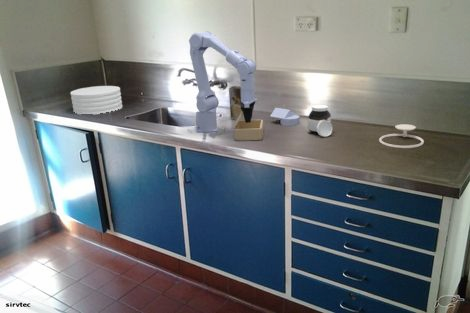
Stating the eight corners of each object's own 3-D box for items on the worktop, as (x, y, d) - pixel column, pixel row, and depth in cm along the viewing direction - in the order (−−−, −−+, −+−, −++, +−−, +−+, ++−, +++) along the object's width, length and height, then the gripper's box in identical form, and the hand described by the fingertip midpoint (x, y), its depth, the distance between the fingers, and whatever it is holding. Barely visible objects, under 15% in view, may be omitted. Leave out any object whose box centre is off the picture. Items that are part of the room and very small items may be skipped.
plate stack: (63, 112, 256) (59, 93, 252) (100, 102, 278) (97, 84, 275) (96, 116, 242) (93, 96, 238) (132, 106, 264) (129, 87, 260)
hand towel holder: (374, 135, 171) (386, 122, 187) (374, 146, 172) (385, 132, 189) (421, 140, 162) (429, 126, 179) (420, 151, 164) (428, 136, 180)
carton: (235, 140, 186) (234, 129, 185) (238, 130, 201) (238, 120, 200) (261, 140, 185) (261, 129, 184) (263, 130, 200) (263, 119, 198)
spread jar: (318, 128, 198) (319, 103, 195) (340, 132, 191) (341, 106, 187) (302, 134, 191) (302, 108, 187) (324, 139, 183) (325, 112, 179)
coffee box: (251, 117, 223) (250, 86, 218) (247, 120, 218) (245, 88, 212) (234, 116, 227) (233, 85, 221) (230, 119, 221) (228, 88, 216)
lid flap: (234, 128, 186) (233, 128, 186) (237, 120, 199) (236, 119, 199) (241, 117, 184) (240, 116, 184) (244, 109, 197) (243, 109, 197)
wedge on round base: (270, 123, 211) (292, 127, 203) (269, 109, 209) (292, 112, 201) (281, 119, 217) (303, 122, 209) (281, 105, 215) (303, 109, 207)
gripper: (255, 92, 179) (256, 124, 184) (257, 85, 193) (258, 115, 197) (238, 92, 180) (240, 124, 185) (241, 86, 194) (243, 116, 198)
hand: (248, 120), depth 191 cm, fingers open, 7 cm apart
